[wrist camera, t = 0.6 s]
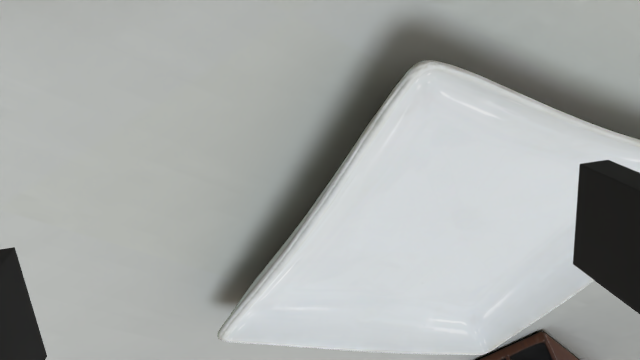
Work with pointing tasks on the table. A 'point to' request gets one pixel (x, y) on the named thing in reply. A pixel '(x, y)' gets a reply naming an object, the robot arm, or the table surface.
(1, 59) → the table surface
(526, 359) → the letter holder
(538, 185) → the square plate
